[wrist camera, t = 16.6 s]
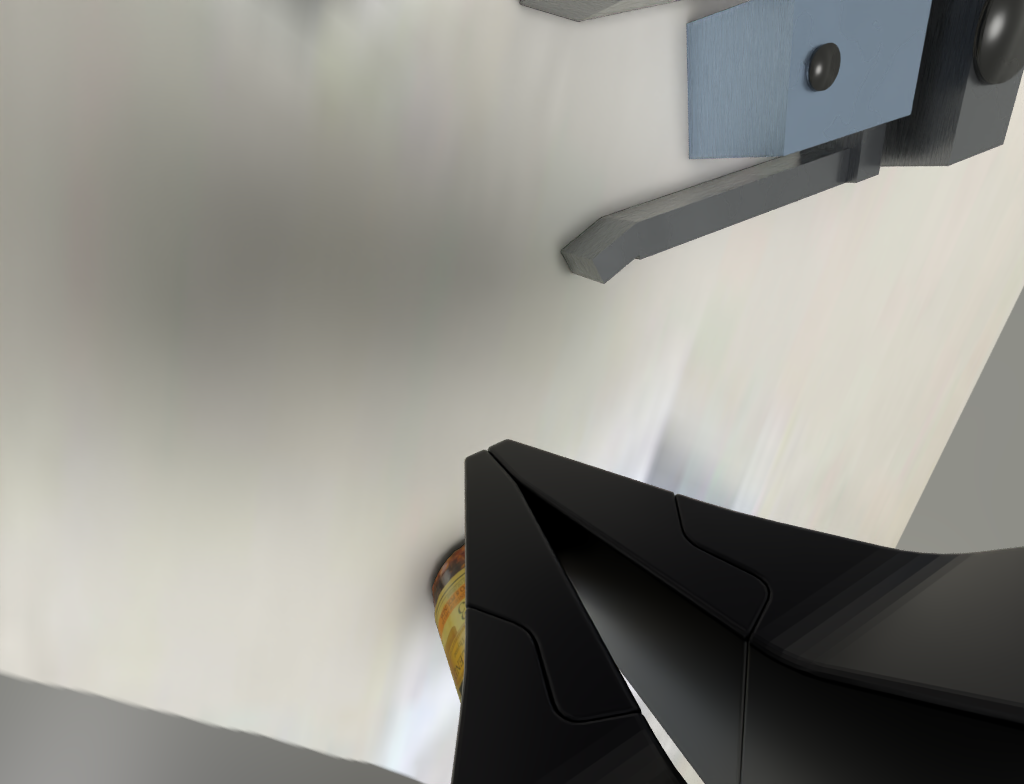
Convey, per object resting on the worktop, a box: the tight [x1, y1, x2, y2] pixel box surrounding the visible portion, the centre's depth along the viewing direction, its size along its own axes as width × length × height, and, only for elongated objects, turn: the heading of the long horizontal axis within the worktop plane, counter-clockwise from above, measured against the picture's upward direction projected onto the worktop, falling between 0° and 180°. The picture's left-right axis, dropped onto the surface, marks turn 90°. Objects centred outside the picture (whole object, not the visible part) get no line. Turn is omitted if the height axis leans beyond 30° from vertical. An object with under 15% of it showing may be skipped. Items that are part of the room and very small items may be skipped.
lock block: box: [686, 0, 932, 159], centre depth 19 cm, size 5×7×5 cm
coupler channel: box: [520, 0, 1024, 284], centre depth 19 cm, size 11×21×5 cm, turn 103°
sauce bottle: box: [432, 544, 466, 703], centre depth 18 cm, size 6×6×20 cm
